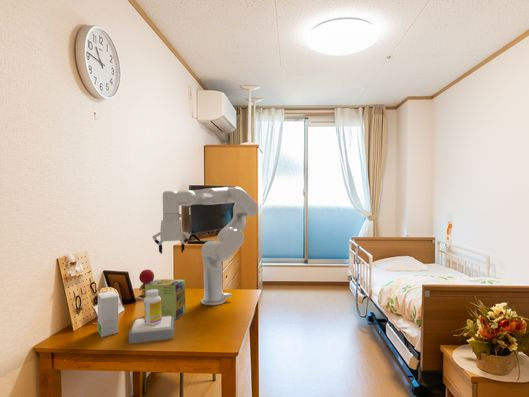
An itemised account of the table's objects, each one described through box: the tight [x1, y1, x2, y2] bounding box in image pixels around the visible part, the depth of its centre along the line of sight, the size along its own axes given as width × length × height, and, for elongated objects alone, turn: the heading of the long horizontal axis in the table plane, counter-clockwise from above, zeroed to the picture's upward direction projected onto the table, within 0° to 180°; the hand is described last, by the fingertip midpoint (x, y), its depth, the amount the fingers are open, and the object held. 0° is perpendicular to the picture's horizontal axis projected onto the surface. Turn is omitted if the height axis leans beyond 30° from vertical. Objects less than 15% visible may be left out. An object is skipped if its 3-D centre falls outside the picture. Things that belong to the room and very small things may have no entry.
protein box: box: [145, 278, 187, 321], centre depth 155 cm, size 10×15×16 cm
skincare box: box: [97, 290, 119, 338], centre depth 136 cm, size 8×7×16 cm
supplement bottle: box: [143, 289, 162, 325], centre depth 133 cm, size 7×7×13 cm
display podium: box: [128, 316, 175, 345], centre depth 133 cm, size 16×14×4 cm
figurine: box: [136, 269, 155, 301], centre depth 183 cm, size 9×10×15 cm
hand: (171, 252), depth 158 cm, fingers open, 9 cm apart
